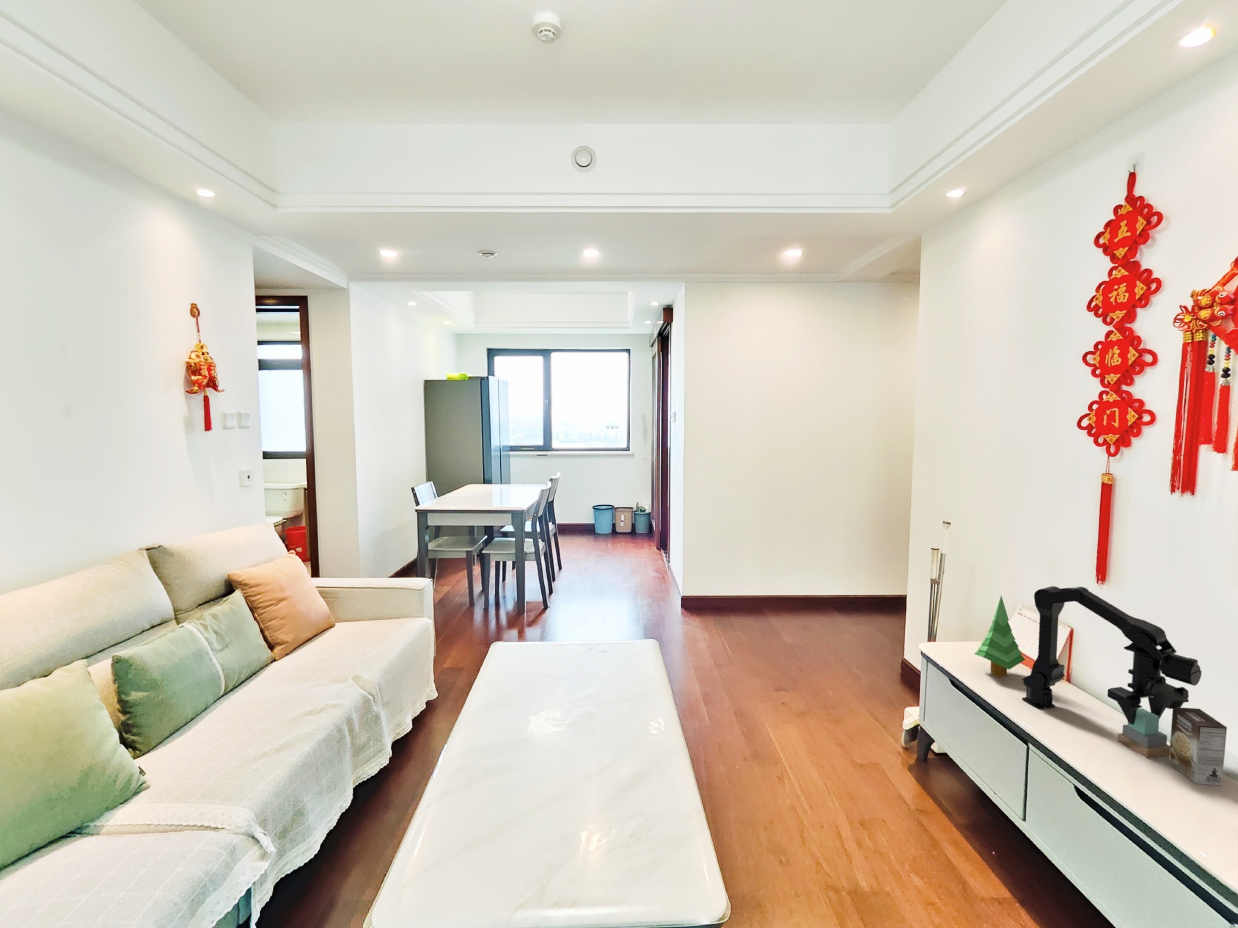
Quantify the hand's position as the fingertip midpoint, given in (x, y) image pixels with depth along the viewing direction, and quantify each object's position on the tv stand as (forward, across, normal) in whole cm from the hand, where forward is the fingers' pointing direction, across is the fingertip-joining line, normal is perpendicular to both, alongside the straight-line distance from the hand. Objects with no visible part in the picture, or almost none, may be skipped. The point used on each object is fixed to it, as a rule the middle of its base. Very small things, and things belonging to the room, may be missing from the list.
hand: (1143, 722), depth 157 cm
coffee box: (+8, +1, -12) cm, 14 cm away
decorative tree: (+8, -3, +46) cm, 47 cm away
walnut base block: (+8, 0, 0) cm, 8 cm away
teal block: (+2, 0, 0) cm, 2 cm away
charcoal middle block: (+5, 0, 0) cm, 5 cm away
